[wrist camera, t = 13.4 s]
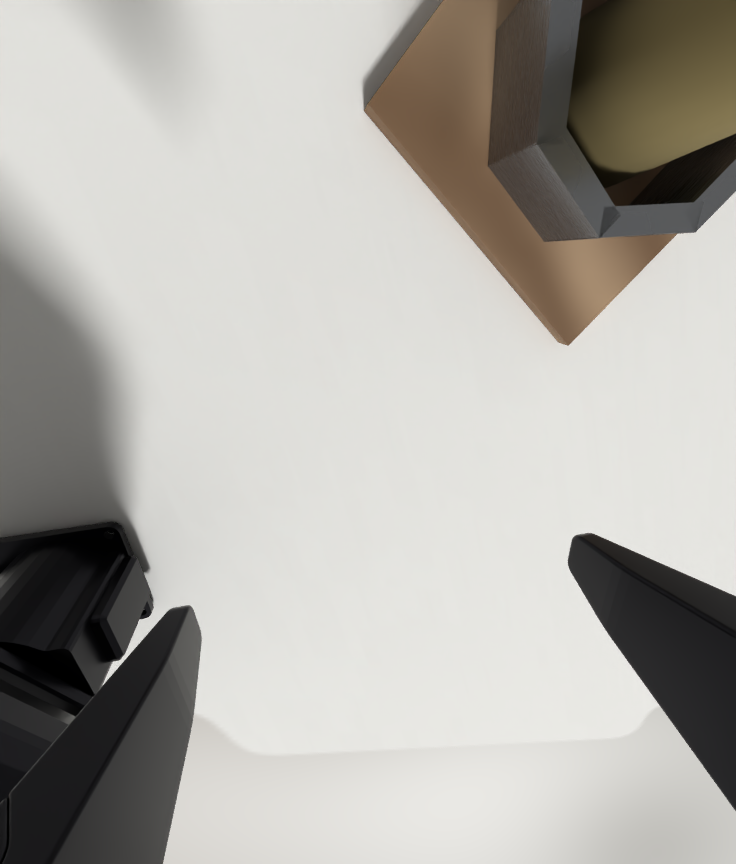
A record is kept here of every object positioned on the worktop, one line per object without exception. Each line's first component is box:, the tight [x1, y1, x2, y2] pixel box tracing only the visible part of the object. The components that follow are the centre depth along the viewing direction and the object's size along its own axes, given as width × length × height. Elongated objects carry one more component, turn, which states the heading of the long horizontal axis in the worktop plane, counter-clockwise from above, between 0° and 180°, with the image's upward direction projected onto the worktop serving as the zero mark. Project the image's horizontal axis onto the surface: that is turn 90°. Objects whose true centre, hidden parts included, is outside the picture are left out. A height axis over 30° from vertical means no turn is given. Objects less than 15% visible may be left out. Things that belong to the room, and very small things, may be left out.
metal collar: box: [488, 0, 736, 242], centre depth 14 cm, size 10×10×4 cm
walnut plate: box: [364, 0, 677, 345], centre depth 16 cm, size 14×14×1 cm
